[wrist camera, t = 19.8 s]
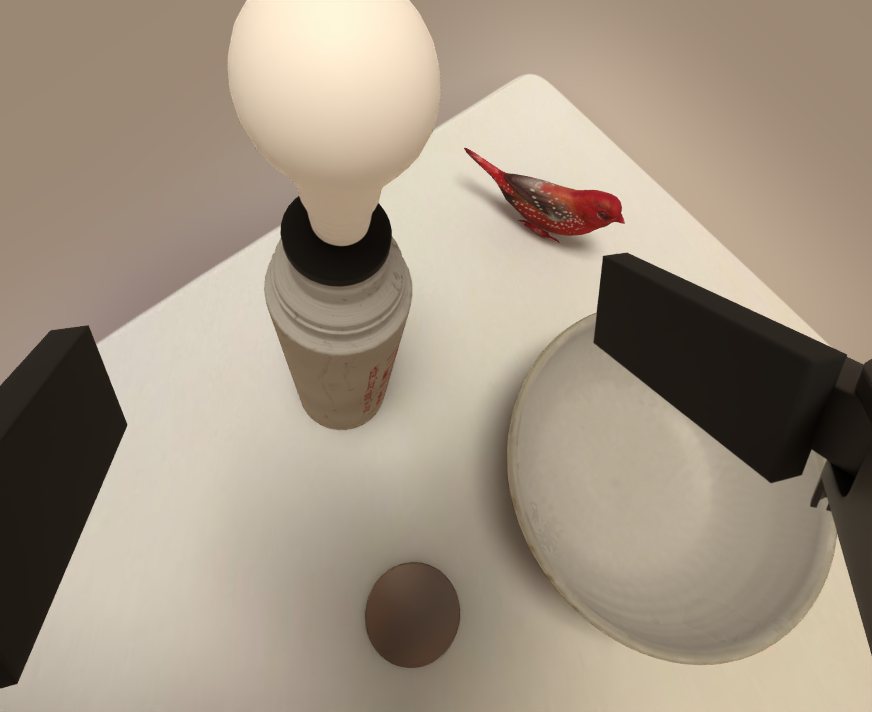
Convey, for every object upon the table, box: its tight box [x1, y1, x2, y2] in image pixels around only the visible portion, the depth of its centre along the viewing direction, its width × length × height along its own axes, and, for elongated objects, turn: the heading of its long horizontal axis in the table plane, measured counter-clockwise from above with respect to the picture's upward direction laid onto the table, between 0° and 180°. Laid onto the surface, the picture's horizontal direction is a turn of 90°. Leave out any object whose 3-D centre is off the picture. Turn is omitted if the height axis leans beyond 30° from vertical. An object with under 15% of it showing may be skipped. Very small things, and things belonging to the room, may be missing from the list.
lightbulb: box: [228, 0, 440, 246], centre depth 18 cm, size 6×6×11 cm
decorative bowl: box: [507, 313, 837, 665], centre depth 45 cm, size 27×27×12 cm
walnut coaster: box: [365, 562, 460, 668], centre depth 44 cm, size 8×8×1 cm
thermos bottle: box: [264, 196, 412, 430], centre depth 36 cm, size 8×8×28 cm
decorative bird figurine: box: [464, 148, 625, 243], centre depth 54 cm, size 3×18×10 cm, turn 62°
